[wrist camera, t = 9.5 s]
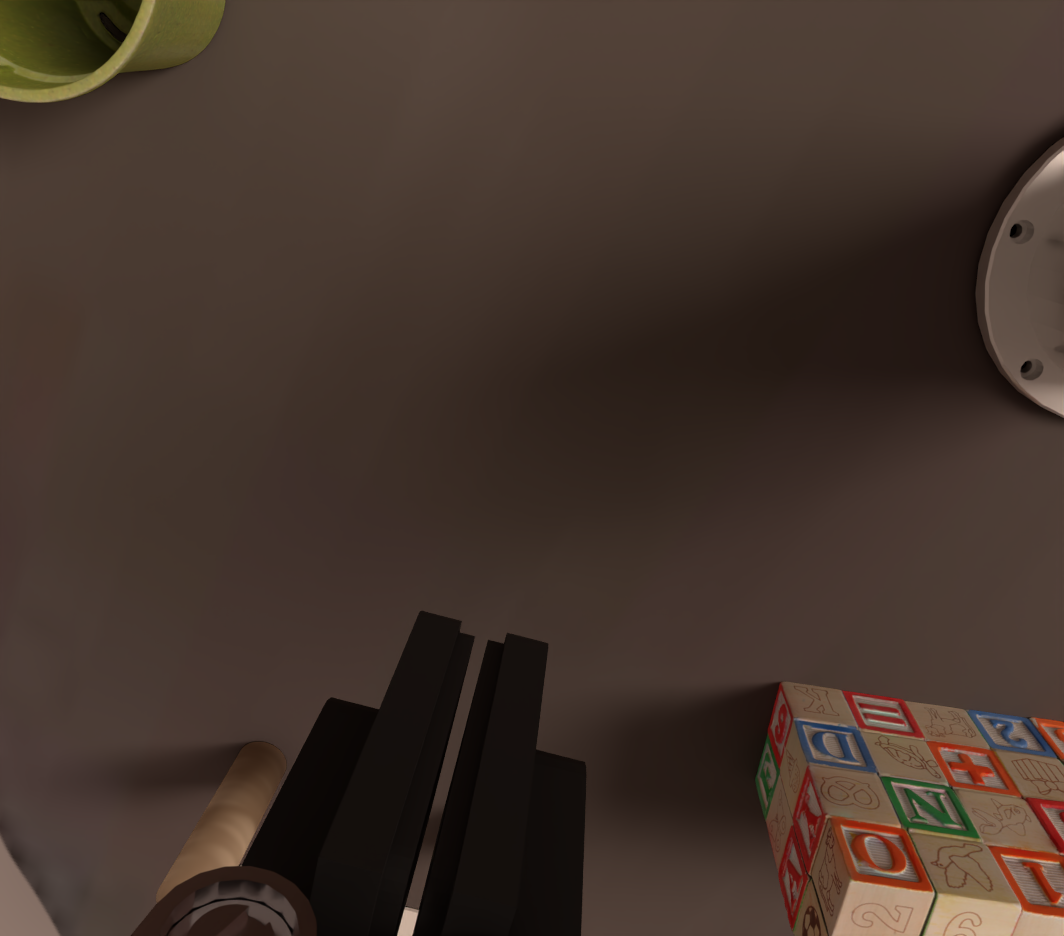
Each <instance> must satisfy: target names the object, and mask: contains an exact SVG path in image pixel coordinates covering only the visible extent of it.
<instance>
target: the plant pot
mask: <svg viewBox="0 0 1064 936" xmlns="http://www.w3.org/2000/svg"><path fill="white" fill-rule="evenodd" d="M224 7H225V0H0V98H3V99H8V100H13V101H20V102H29V103H46V102H57V101H63V100H68V99H72V98H75V97H79V96H81V95H84V94H86V93H89V92H91V91H93V90H95V89H97V88H98V87H100V86H102V85H103V84H105V83H106V82H108V81H109V80H110V79H112V78H113V77H114V76H115V75H117V74H118V73H124V72H133V71H145V70H155V69H164V68H169V67H174V66H177V65H181V64H183V63H185V62H188V61H189V60H191V59H193V58H194V57H196V56H197V55H198V54H199V53H200V52H202V51H203V50H204V49H205V47H206V46H207V45H208V44H209V43H210V41H211V40H212V38H213V36H214V35H215V33H216V31H217V29H218V27H219V25H220V22H221V19H222V16H223V12H224ZM101 12H102V13H105V14H106V15H107V17H108V18H109V19H110V20H111V21H112V23H113V24H114V25H115V26H116V27H117V28H118V29H119V30H120V31H122V32H123V33H125V34H126V35H127V37H126V39H125V40H124V42H120V41H118V40H117V39H116V38H114V37H113V36H112V34H111V33H110V32H109V31H108V30H107V29H106V28H105V27H104V25H103V24H102V22H101V20H100V16H99V14H100V13H101Z"/></svg>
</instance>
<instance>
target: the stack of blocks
mask: <svg viewBox="0 0 1064 936" xmlns="http://www.w3.org/2000/svg"><path fill="white" fill-rule="evenodd" d="M755 782H756V787H757V791H758V795H759V799H760V803H761V807H762V810H763V815H764V818H765V821H766V823H767V828H768V833H769V837H770V841H771V846H772V850H773V854H774V858H775V862H776V866H777V870H778V872H779V875H778V877H779V882H780V886H781V891H782V894H783V897H784V902H785V907H786V911H787V912H788V919H789V923H790V927H791V930H792V931H793V933H794V936H1064V722H1061V721H1054V720H1047V719H1040V718H1034V717H1031V718H1029V719H1027V718H1023V717H1017V716H1009V715H1003V714H995V713H989V712H982V711H975V710H963V709H958V708H952V707H945V706H938V705H931V704H923V703H916V702H908V701H904V700H902V699H896V698H890V697H883V696H876V695H869V694H863V693H856V692H849V691H841V690H838V689H832V688H825V687H819V686H812V685H805V684H798V683H791V682H781V683H780V685H779V689H778V693H777V697H776V700H775V704H774V708H773V712H772V716H771V719H770V723H769V727H768V734H767V738H766V742H765V746H764V749H763V753H762V756H761V760H760V764H759V767H758V771H757V774H756V778H755Z"/></svg>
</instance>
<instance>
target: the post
mask: <svg viewBox="0 0 1064 936" xmlns="http://www.w3.org/2000/svg"><path fill="white" fill-rule="evenodd" d="M286 767H287V762H286V759H285V756H284V755H283V753H282V752H281V751H280V750H279V749H278V748H277V747H275V746H273V745H272V744H269V743H266V742H252V743H249V744H247V745H245V746H244V747H243V748H242V749H241V751H240V752H239V754H238V756H237V757H236V759H235V761H234V762H233V764H232V766H231V768H230V769H229V771H228V773H227V774H226V776H225V778H224V779H223V781H222V783H221V784H220V786H219V788H218V790H217V791H216V793H215V795H214V796H213V798H212V800H211V801H210V803H209V805H208V807H207V808H206V810H205V812H204V813H203V815H202V817H201V818H200V820H199V822H198V823H197V825H196V827H195V829H194V830H193V832H192V834H191V835H190V837H189V839H188V840H187V842H186V844H185V845H184V847H183V849H182V851H181V852H180V854H179V856H178V857H177V859H176V861H175V862H174V864H173V866H172V868H171V869H170V871H169V873H168V874H167V876H166V878H165V879H164V881H163V883H162V884H161V886H160V888H159V890H158V892H157V895H156V902H157V903H158V902H159V901H160V900H161V899H162V898H163V897H165V896H166V895H167V894H168V893H169V892H170V891H171V890H172V889H173V888H174V887H175V886H177V885H179V884H181V883H182V882H184V881H186V880H188V879H190V878H192V877H193V876H195V875H197V874H199V873H202V872H206V871H210V870H214V869H217V868H221V867H225V866H238V865H239V863H240V861H241V859H242V857H243V855H244V853H245V851H246V849H247V847H248V845H249V843H250V841H251V839H252V837H253V835H254V833H255V831H256V829H257V827H258V825H259V823H260V821H261V819H262V817H263V815H264V813H265V811H266V809H267V807H268V805H269V803H270V801H271V799H272V797H273V795H274V793H275V791H276V789H277V787H278V785H279V783H280V781H281V779H282V777H283V775H284V773H285V771H286Z"/></svg>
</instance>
